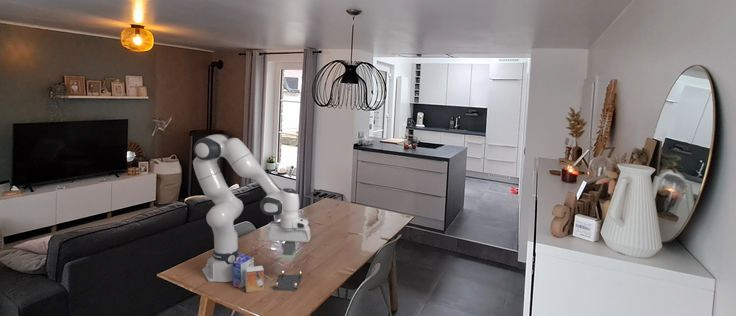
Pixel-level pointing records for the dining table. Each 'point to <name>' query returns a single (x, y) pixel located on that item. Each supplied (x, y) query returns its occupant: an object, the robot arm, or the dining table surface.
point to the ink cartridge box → (241, 270)
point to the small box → (254, 279)
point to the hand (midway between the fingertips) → (289, 249)
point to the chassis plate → (288, 282)
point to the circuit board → (288, 250)
